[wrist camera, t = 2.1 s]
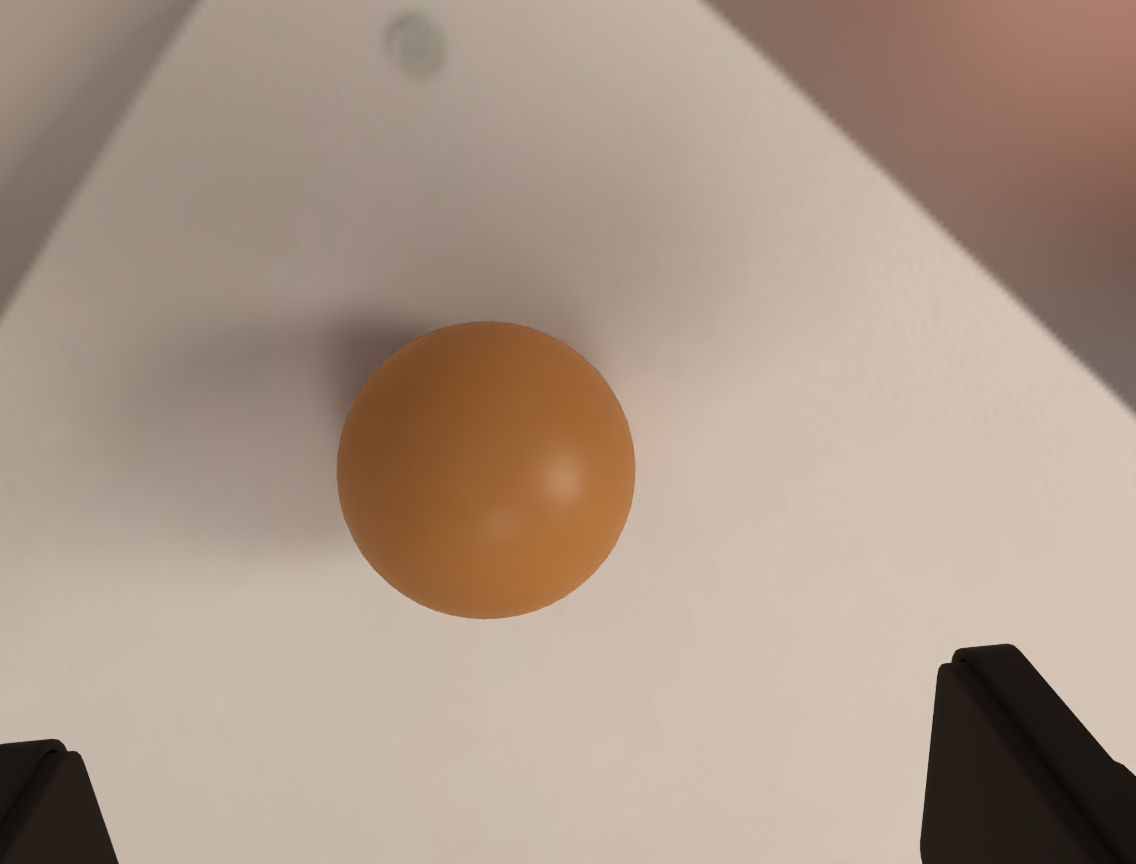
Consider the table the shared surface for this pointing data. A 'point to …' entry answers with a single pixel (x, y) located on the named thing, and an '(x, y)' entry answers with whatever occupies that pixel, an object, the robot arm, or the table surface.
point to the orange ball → (486, 470)
